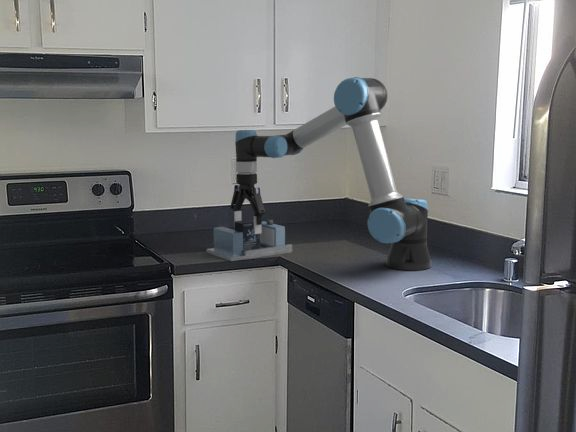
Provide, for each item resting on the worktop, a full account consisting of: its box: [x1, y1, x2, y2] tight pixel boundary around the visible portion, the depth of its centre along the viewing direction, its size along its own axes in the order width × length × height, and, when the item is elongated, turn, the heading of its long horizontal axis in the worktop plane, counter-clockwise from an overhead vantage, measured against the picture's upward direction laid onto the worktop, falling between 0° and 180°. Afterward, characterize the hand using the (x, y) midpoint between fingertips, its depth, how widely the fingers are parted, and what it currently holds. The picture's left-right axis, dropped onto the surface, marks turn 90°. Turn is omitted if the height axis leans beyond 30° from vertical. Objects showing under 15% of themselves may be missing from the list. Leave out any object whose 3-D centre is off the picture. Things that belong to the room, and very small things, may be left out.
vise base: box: [206, 226, 293, 262], centre depth 273 cm, size 18×26×9 cm
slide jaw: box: [260, 219, 286, 247], centre depth 278 cm, size 14×4×10 cm, turn 35°
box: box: [234, 219, 260, 251], centre depth 272 cm, size 8×6×11 cm
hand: (247, 231), depth 272 cm, fingers open, 13 cm apart
